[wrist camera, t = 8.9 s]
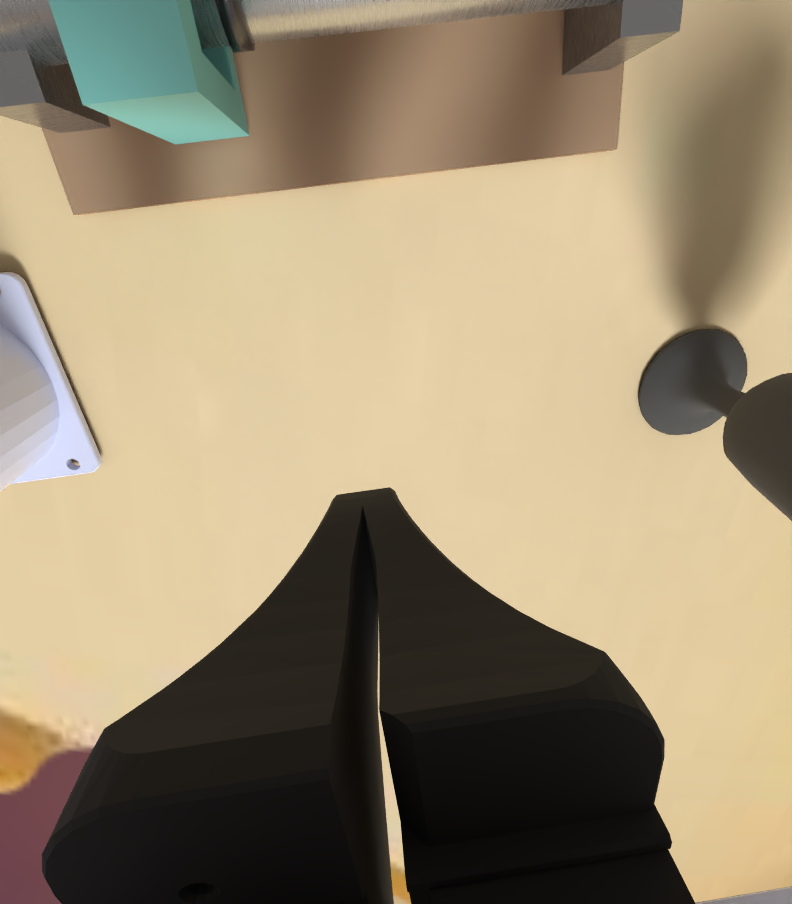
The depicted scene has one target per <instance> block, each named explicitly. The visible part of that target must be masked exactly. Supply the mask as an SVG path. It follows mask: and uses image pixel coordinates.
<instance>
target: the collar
mask: <svg viewBox="0 0 792 904" xmlns="http://www.w3.org/2000/svg"><path fill="white" fill-rule="evenodd" d="M48 1H49V4H50V7H51V10H52V13H53V16H54V19H55V22H56V25H57V28H58V31H59V34H60V37H61V41H62V44H63V47H64V50H65V53H66V56H67V59H68V62H69V65H70V68H71V71H72V74H73V77H74V80H75V83H76V86H77V89H78V92H79V95H80V98H81V102H82V105H84V106H87V107H89V108H91V109H94V110H96V111H98V112H101V113H103V114H105V115H108V116H110V117H112V118H115V119H117V120H119V121H122V122H124V123H126V124H129V125H131V126H133V127H136V128H138V129H140V130H143V131H145V132H147V133H150V134H152V135H154V136H157V137H159V138H161V139H164V140H166V141H168V142H171V143H173V144H184V143H193V142H201V141H210V140H218V139H227V138H235V137H244V136H250V134H249V130H248V125H247V120H246V115H245V110H244V105H243V100H242V96H241V91H240V86H239V81H238V76H237V71H236V67H235V62H234V57H233V52H232V49H231V47H230V46H225V47H216V48H207V49H201V45H200V41H199V37H198V32H197V28H196V23H195V19H194V15H193V10H192V6H191V2H190V0H48Z"/></svg>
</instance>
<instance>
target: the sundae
mask: <svg viewBox="0 0 792 904" xmlns="http://www.w3.org/2000/svg"><path fill="white" fill-rule="evenodd" d="M746 376H747V359H746V354H745V353H744V351H743V349H742V347H741V345H740V344H739V342H738V341H737V340H736V338H734V337H732V336H731V335H729V334H727V333H725V332H722V331H720V330H710V329H707V330H697V331H694V332H691V333H688V334H685V335H683V336H681V337H679V338H677V339H675V340H674V341H673V342H671V343H670V344H669V345H667V346H666V347H665V348H664V349H663V350H662V351H661V352H659V353H658V354H657V355H656V357H655V358H654V360H653V361H652V362H651V364H650V365H649V367H648V369H647V370H646V372H645V374H644V376H643V379H642V383H641V386H640V392H639V404H640V409H641V413H642V415H643V417H644V418H645V420H646V421H647V422H648V424H649V425H650V426H651V427H652V428H654V429H656V430H658V431H660V432H662V433H666V434H669V435H682V434H691V433H694V432H697V431H700V430H702V429H704V428H707V427H709V426H710V425H712V424H713V423H715V422H716V421H717V420H719V419H720V418H721V417H722V416H725V417H727V419H726V422H725V426H724V433H723V446H724V452H725V454H726V456H727V458H728V459H729V460H730V461H731V462H732V463H733V465H734V466H735V467H736V468H737V469H738V470H739V471H740V472H741V474H742V475H743V476H744V477H745V478H746V479H747V480H748V481H749V482H750V483H751V484H752V486H753V487H755V488H756V489H757V490H758V491H759V492H760V493H761V494H762V495H763V496H765V497H766V498H767V499H768V500H769V501H770V502H771V503H772V504H773V505H775V506H776V507H777V508H778V509H779V510H780V511H781V512H782V513H784V514H785V515H786V516H787V517H788V518H789V519H790V520H791V521H792V373H787V374H782V375H779V376H776V377H774V378H771V379H769V380H766V381H764V382H762V383H761V384H759V385H757V386H755V387H753V388H752V389H750V390H749V391H748V392H747V393H743V392H741V390H742V388H743V386H744V383H745V380H746Z"/></svg>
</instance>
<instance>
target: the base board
mask: <svg viewBox="0 0 792 904" xmlns="http://www.w3.org/2000/svg"><path fill="white" fill-rule="evenodd" d="M563 31H564V9H563V10H554V11H545V12H536V13H527V14H518V15H509V16H499V17H490V18H481V19H472V20H463V21H454V22H445V23H435V24H426V25H417V26H408V27H399V28H390V29H381V30H372V31H362V32H353V33H344V34H335V35H326V36H317V37H308V38H298V39H289V40H280V41H271V42H262V43H255V50H254V51H249V52H240V53H234V52H233V51H232V52H233V57H234V62H235V67H236V71H237V76H238V81H239V86H240V91H241V96H242V100H243V105H244V110H245V115H246V120H247V125H248V130H249V134H250V136H244V137H235V138H227V139H218V140H210V141H201V142H193V143H184V144H173V143H171V142H168V141H166V140H164V139H161V138H159V137H157V136H154V135H152V134H150V133H147V132H145V131H143V130H140V129H138V128H136V127H133V126H131V125H129V124H126V123H124V122H122V121H119V120H117V119H115V118H112V117H110V116H108V115H107V116H108V119H109V123H110V126H111V127H109V128H100V129H91V130H83V131H74V132H65V133H58V132H55V131H52V130H48V129H45V128H42V130H43V132H44V135H45V138H46V141H47V143H48V146H49V149H50V152H51V154H52V157H53V160H54V163H55V165H56V168H57V171H58V174H59V176H60V179H61V182H62V185H63V187H64V190H65V193H66V196H67V198H68V201H69V204H70V206H71V209H72V212H73V215H81V214H89V213H97V212H106V211H114V210H122V209H131V208H139V207H147V206H155V205H164V204H172V203H180V202H189V201H197V200H205V199H213V198H222V197H230V196H238V195H246V194H255V193H263V192H271V191H280V190H288V189H296V188H304V187H313V186H321V185H329V184H337V183H346V182H354V181H362V180H371V179H379V178H387V177H395V176H404V175H412V174H420V173H429V172H437V171H445V170H453V169H462V168H470V167H478V166H486V165H495V164H503V163H511V162H520V161H528V160H536V159H544V158H553V157H561V156H569V155H577V154H586V153H594V152H602V151H611V150H615V149H617V146H618V133H619V120H620V107H621V95H622V82H623V69H624V62H623V63H621V64H619V65H617V66H616V67H614V68H612V69H610V70H606V71H597V72H589V73H580V74H571V75H563V76H562V61H563Z"/></svg>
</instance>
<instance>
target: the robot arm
mask: <svg viewBox="0 0 792 904" xmlns="http://www.w3.org/2000/svg"><path fill="white" fill-rule="evenodd" d="M0 289H1V295H0V491H2V490H3V489H4V488H5V487H7V486H8V485H9V484H14V483H21V482H28V481H35V480H42V479H50V478H57V477H64V476H71V475H78V474H85V473H91V472H94V471H96V470H97V469H98V468H99V467H100V466H101V463H102V459H101V456H100V453H99V451H98V449H97V446H96V444H95V442H94V439H93V437H92V435H91V432H90V430H89V428H88V425H87V423H86V421H85V418H84V416H83V414H82V411H81V409H80V407H79V404H78V402H77V400H76V397H75V395H74V393H73V390H72V388H71V386H70V383H69V381H68V378H67V376H66V374H65V371H64V369H63V367H62V364H61V362H60V360H59V357H58V355H57V353H56V350H55V348H54V346H53V343H52V341H51V339H50V336H49V334H48V332H47V329H46V327H45V325H44V322H43V320H42V318H41V315H40V313H39V311H38V308H37V306H36V304H35V301H34V299H33V297H32V294H31V292H30V290H29V287H28V285H27V283H26V282H25V280H24V279H23V278H22V277H21V276H19V275H18V274H15V273H13V272H2V273H0ZM71 459H75V460H77V461H78V462H79V463H80V466H77V465H75V464H73V463H72V461H71ZM378 621H379V646H380V703H379V711H380V716H381V721H382V726H383V732H384V737H385V742H386V747H387V753H388V758H389V763H390V768H391V774H392V779H393V784H394V789H395V794H396V800H397V805H398V810H399V815H400V821H401V831H402V843H403V855H404V866H405V878H406V886H407V891H408V892H409V894H410V899H411V904H792V886H791V887H785V888H779V889H773V890H767V891H761V892H756V893H750V894H744V895H738V896H732V897H726V898H720V899H714V900H709V901H703V902H697V903H695V902H694V900H693V898H692V896H691V894H690V892H689V890H688V888H687V886H686V884H685V882H684V880H683V878H682V876H681V874H680V872H679V870H678V868H677V866H676V864H675V862H674V860H673V858H672V856H671V854H670V852H669V850H668V849H670V848H671V844H672V841H671V838H670V834H669V832H668V830H667V828H666V826H665V824H664V822H663V820H662V818H661V816H660V814H659V813H658V811H657V809H656V807H655V805H654V802H655V797H656V793H657V788H658V784H659V779H660V774H661V770H662V765H663V761H664V738H663V736H662V734H661V731H660V729H659V727H658V725H657V723H656V721H655V720H654V718H653V716H652V715H651V713H650V711H649V710H648V708H647V707H646V705H645V703H644V702H643V700H642V699H641V697H640V696H639V694H638V693H637V692H636V691H635V689H634V688H633V687H632V685H631V684H630V683H629V681H628V680H627V679H626V678H625V676H624V675H623V674H622V673H621V671H620V670H619V669H618V667H617V666H616V665H615V664H614V662H613V661H612V660H611V659H610V657H609V656H608V655H607V654H606V653H605V652H604V651H602V650H599V649H597V648H595V647H593V646H590V645H588V644H586V643H583V642H581V641H579V640H577V639H574V638H572V637H570V636H567V635H565V634H563V633H561V632H558V631H556V630H554V629H552V628H550V627H548V626H546V625H544V624H542V623H540V622H538V621H536V620H534V619H533V618H531V617H529V616H527V615H525V614H523V613H521V612H520V611H518V610H516V609H515V608H513V607H511V606H510V605H508V604H507V603H505V602H504V601H502V600H501V599H499V598H497V597H496V596H494V595H493V594H491V593H490V592H488V591H487V590H485V589H484V588H483V587H481V586H480V585H479V584H477V583H476V582H475V581H473V580H472V579H471V578H470V577H468V576H467V575H466V574H465V573H464V572H462V571H461V570H460V569H459V568H458V567H456V566H455V565H454V564H453V563H452V562H451V561H450V560H449V559H448V558H447V557H446V556H445V555H444V554H443V553H442V552H441V551H440V550H439V549H438V548H437V547H436V546H435V545H434V544H433V543H432V542H431V541H430V540H429V539H428V538H427V537H426V536H425V534H424V533H423V532H422V531H421V530H420V528H419V527H418V526H417V525H416V524H415V522H414V521H413V520H412V518H411V517H410V516H409V514H408V513H407V511H406V510H405V509H404V507H403V506H402V504H401V502H400V501H399V499H398V497H397V495H396V492H395V491H394V490H393V489H391V488H383V489H376V490H368V491H361V492H354V493H347V494H340V495H336V497H335V498H334V499H333V500H332V502H331V505H330V507H329V509H328V510H327V512H326V514H325V516H324V518H323V520H322V522H321V523H320V525H319V527H318V529H317V530H316V532H315V533H314V535H313V537H312V538H311V540H310V541H309V543H308V545H307V546H306V548H305V549H304V551H303V552H302V554H301V555H300V557H299V558H298V559H297V561H296V562H295V563H294V565H293V566H292V568H291V569H290V570H289V572H288V573H287V574H286V576H285V577H284V578H283V580H282V581H281V582H280V583H279V585H278V586H277V587H276V588H275V590H274V591H273V592H272V593H271V594H270V595H269V597H268V598H267V599H266V600H265V601H264V602H263V603H262V604H261V605H260V607H259V608H258V609H257V610H256V611H255V612H254V613H253V614H252V615H251V616H250V617H248V618H247V619H246V620H245V621H244V622H243V623H242V624H241V625H240V626H239V627H238V628H237V629H236V630H235V631H234V632H233V633H232V634H231V635H229V636H228V637H227V638H226V639H225V640H224V641H223V642H222V643H221V644H220V645H218V646H217V647H216V648H215V649H214V650H213V651H211V652H210V653H209V654H208V655H207V656H205V657H204V658H203V659H202V660H201V661H199V662H198V663H197V664H195V665H194V666H193V667H192V668H190V669H189V670H188V671H186V672H185V673H184V674H183V675H181V676H180V677H179V678H177V679H176V680H175V681H173V682H172V683H171V684H169V685H168V686H167V687H165V688H164V689H162V690H161V691H160V692H158V693H157V694H155V695H154V696H152V697H151V698H149V699H148V700H146V701H145V702H143V703H142V704H141V705H139V706H138V707H136V708H135V709H133V710H132V711H130V712H129V713H127V714H126V715H125V716H123V717H122V718H120V719H119V720H117V721H116V722H114V723H112V724H111V725H109V726H108V727H106V728H105V729H104V730H103V732H102V734H101V736H100V738H99V739H98V741H97V743H96V745H95V747H94V748H93V750H92V752H91V754H90V755H89V757H88V759H87V761H86V763H85V765H84V767H83V769H82V771H81V773H80V775H79V777H78V779H77V782H76V784H75V786H74V788H73V790H72V792H71V794H70V796H69V799H68V801H67V803H66V805H65V807H64V809H63V811H62V814H61V815H60V817H59V820H58V822H57V824H56V826H55V828H54V830H53V832H52V834H51V836H50V838H49V841H48V843H47V845H46V847H45V849H44V851H43V853H42V872H43V875H44V877H45V879H46V881H47V883H48V884H49V886H50V888H51V890H52V892H53V893H54V895H55V896H56V897H57V899H58V900H59V901H60V902H61V903H62V904H394V902H393V891H392V880H391V868H390V856H389V845H388V833H387V822H386V810H385V797H384V785H383V773H382V760H381V747H380V734H379V721H378V698H377V681H378Z"/></svg>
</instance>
